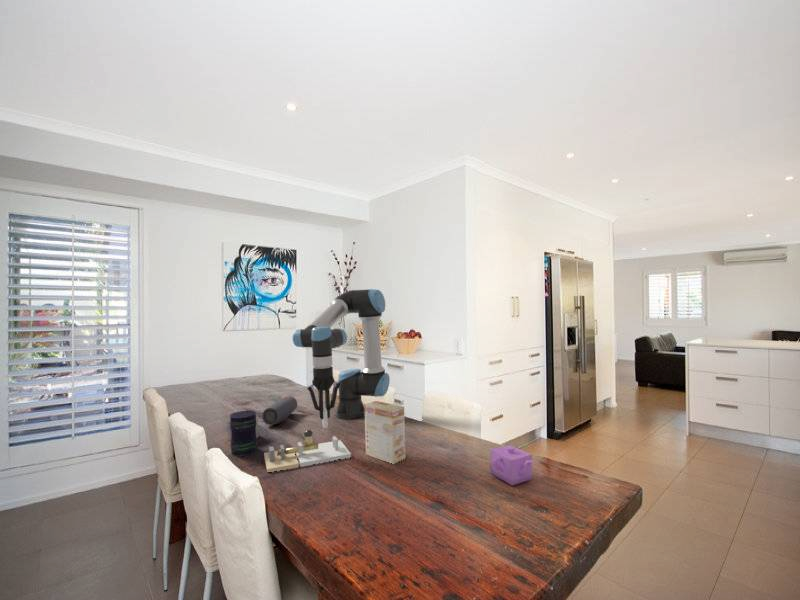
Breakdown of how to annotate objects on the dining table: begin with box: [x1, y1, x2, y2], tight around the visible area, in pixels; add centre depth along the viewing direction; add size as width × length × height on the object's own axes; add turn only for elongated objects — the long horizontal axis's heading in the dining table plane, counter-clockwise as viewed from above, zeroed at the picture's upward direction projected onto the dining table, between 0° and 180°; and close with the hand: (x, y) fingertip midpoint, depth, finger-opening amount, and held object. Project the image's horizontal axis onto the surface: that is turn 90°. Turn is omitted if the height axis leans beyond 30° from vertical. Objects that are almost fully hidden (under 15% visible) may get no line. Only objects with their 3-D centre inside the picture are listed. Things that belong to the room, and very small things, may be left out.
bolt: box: [276, 429, 319, 456], centre depth 149 cm, size 15×3×8 cm, turn 113°
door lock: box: [263, 435, 352, 473], centre depth 150 cm, size 30×16×6 cm, turn 113°
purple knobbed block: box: [489, 444, 534, 486], centre depth 127 cm, size 18×14×10 cm
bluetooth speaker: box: [261, 395, 298, 426], centre depth 198 cm, size 23×9×10 cm, turn 172°
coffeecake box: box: [364, 400, 406, 465], centre depth 148 cm, size 15×7×20 cm, turn 47°
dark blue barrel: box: [229, 410, 258, 457], centre depth 158 cm, size 10×10×15 cm
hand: (325, 426), depth 153 cm, fingers closed
